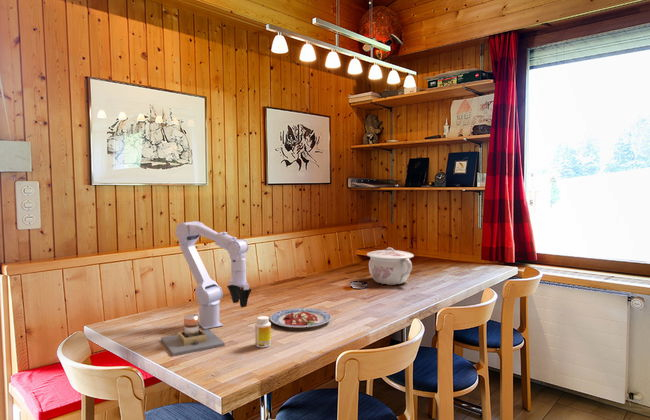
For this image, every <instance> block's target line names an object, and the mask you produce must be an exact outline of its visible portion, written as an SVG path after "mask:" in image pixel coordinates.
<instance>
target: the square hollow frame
mask: <svg viewBox="0 0 650 420" xmlns="http://www.w3.org/2000/svg"><path fill="white" fill-rule="evenodd" d="M202 330H203V329H202V328H200V327H199V335H198V336H193V337H188V338H185V337H184V331H178V332H177V335H178V340H179V341H180V342H181V343H182V344H183V345H184V346H186V345H191V344H194V345H197V344H198V343H201V342H207V335H206V334H205V333H204V332H203V331H202Z"/></svg>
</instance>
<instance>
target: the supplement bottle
mask: <svg viewBox="0 0 650 420" xmlns="http://www.w3.org/2000/svg"><path fill="white" fill-rule="evenodd" d="M256 320H257V321H256V322H255V325H254V326H255V327H254V329H255V331H254V333H255V337H254V338H255V346H256V347H257V348H262V349H263V348H267V347H270V346H271V344H272V323H271V321H269V320H270V317H269V316H268V315H267V316H266V315H261V316H258V317H257V319H256Z"/></svg>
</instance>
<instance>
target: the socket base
mask: <svg viewBox="0 0 650 420" xmlns="http://www.w3.org/2000/svg"><path fill="white" fill-rule="evenodd" d="M201 330H202V331H203V332H204V333H205V334H206V335H207V342H201V343H198V344H197V345H194V344H191V345H186V346H184V345H183V344H182V343H181V342H180V341H179V340H178V334H172V335H168V336H163V337H160V340H161V342H162V343H163V344H164V346H165V347H166V349H167V350H168V351H169V353H170V354H171V355H172V356H173V357H176V356H181V355H186V354H190V353H194V352H195V353H196V352H201V351H204V350H205V351H207V350H210V349H214V348H215V349H216V348H220V347H224V346H225V344H226V343H225V342H224V341H223V340H222V339H221V338H220V337H219V336H217V334H215V333H214V332H213V331H212V330H211V329H210V328H208V329H201Z"/></svg>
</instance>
